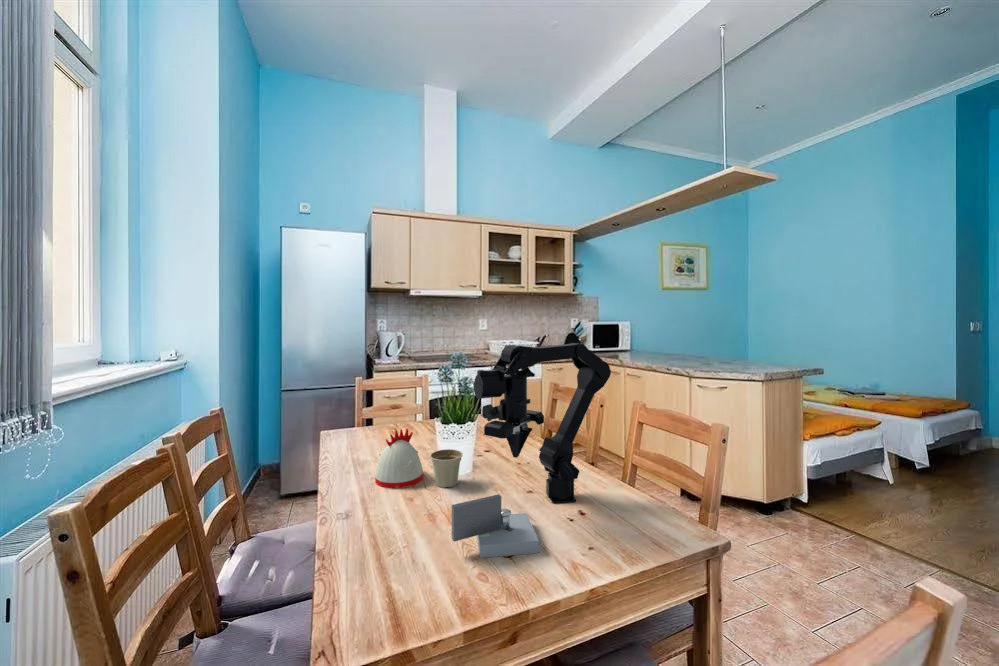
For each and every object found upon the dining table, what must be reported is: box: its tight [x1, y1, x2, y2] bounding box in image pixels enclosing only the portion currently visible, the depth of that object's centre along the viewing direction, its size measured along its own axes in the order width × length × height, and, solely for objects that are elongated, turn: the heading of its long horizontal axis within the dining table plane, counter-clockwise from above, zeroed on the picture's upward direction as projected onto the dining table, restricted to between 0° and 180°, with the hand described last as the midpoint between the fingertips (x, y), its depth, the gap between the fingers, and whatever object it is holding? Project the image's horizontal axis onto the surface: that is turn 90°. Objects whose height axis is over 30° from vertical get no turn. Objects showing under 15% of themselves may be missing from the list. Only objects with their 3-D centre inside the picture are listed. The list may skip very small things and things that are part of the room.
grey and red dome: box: [374, 428, 424, 489], centre depth 121 cm, size 14×14×15 cm
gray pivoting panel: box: [451, 494, 512, 543], centre depth 85 cm, size 13×3×7 cm, turn 117°
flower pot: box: [429, 448, 464, 488], centre depth 117 cm, size 9×9×9 cm
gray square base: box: [476, 512, 540, 559], centre depth 87 cm, size 12×12×3 cm
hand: (515, 457), depth 102 cm, fingers closed
